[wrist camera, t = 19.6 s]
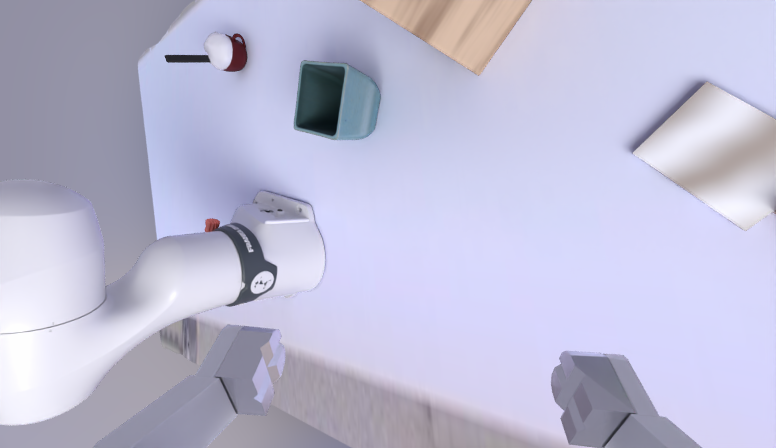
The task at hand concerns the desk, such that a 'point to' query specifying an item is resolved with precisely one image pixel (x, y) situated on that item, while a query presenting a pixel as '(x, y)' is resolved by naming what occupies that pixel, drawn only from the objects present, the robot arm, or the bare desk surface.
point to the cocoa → (218, 53)
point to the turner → (719, 154)
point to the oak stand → (456, 25)
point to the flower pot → (335, 101)
